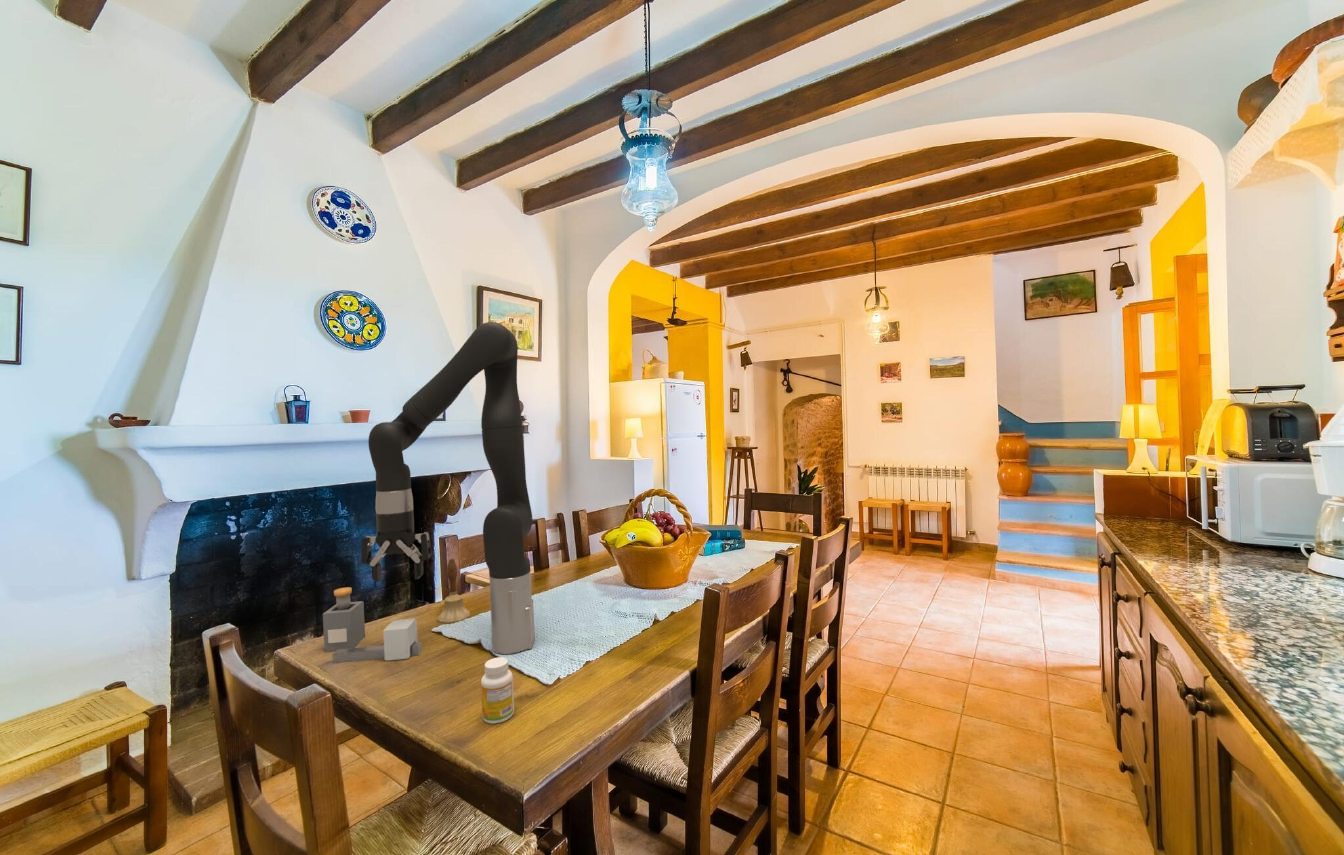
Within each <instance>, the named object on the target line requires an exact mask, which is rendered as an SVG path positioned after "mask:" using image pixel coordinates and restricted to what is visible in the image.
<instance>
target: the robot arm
mask: <svg viewBox="0 0 1344 855" xmlns="http://www.w3.org/2000/svg"><path fill="white" fill-rule="evenodd" d="M518 346H519V345H518V341H517V338H516V336H515V335H514V333H513V332H512V331H511V330H509V329H508V328H507V327H506V326H504V325H503V324H501V323H500V322H499V323H498V322H495V321H488V322H484V323H482V324H480V325H478V326H477V327H476V329H474V330H473V332H472V333H471V334H470V336H469V337H468V338H467V339H466V341H465V342H464V344H463V345H462V346H461V347H460V349H459V350H458V351H457V352H456V353H455V355H454V356H452V358H451V359H450V360H449V361H448V362H447V364H446V365H444V367H442V369H440V370H439V371H438V372H437V374H435V375H434V376H433V377H432V378H431V379H430V380H429V381H428V382H427V383H425V385H424V386H422V387H421V388H420V389H419V390H418V391H417V392H416V393H414V394H413V395H412V396H411V397H410V398H409V399H408V400H407V401H406V402H405V403H404V404H403V405H402V407H401V408H402V409H401V411H402V412H400V413H399V414H398V416H396V417H395V418H394V419H393V420H391V421H389V422H387V421H385V422H380V423H377V424H375V425H374V426H373V427H372V429H371V430H370V432H369V434H368V442H367V443H368V449H369V450H368V451H369V454H370V458H371V461H372V465H373V469H374V471H375V491H376V492H375V495H376V496H375V517H376V518H375V519H376V522H375V523H376V535H375V536H372V535H367V536H365V537H363V538H362V539H361V555H360V558H361V564H362V565H369V566H370V569H371V579H372V580H374V583H380V582H381V581H382V580H383V575H382V574H383V573H382V571H383V570H382V563H380V562H381V561H382V559H384V557H385V556H387V555H388V556H390V555H391V556H392V555H395V554H396V555H403V554H406V555H407V556H408V557H409V558H411V560H412V561H413V562H414V564H413V569H414V570H413V571H414V572H413V573H414V574H413V575H414V580H419V579H421V578H422V576H423V575H424V561H426V560H428V559H429V558H430V557H432V554H433V553H432V547H431V546H432V544H431V535H430V532H429V531H424V532H423V533H416V532H415V517H414V497H413V492H412V479H411V478H412V477H411V476H412V475H411V468H410V466H409V464H406V463H405V460H404V459H405V458H404V453H403V452H404V451H405V450H407V449H408V448H410V447H411V446H412V445H413V444H414V443H415V442H416V441H417V440H418V439H419V437H420V436H421V435H422V434H423V432H425V430H426V428H427V427H428V426H430V424H431V423H433V422H435V421H436V419H437V418H439V417H440V416H441V415H442V414H443V413H444V412H445V411H446V410H448V409H449V407H450V406H451V405H453V403H454V402H455V401H456V399H457V398H458V397H459V395H460V394H461V392H462V391H463V390H464V388H465V387H467V385H468V383H470V382H471V381H472V380H473V378H475V377H476V376H477V375H478V374H479V373H481V372H482V371H483V373H484V379H485V392H484V399H483V404H482V410H481V421H480V423H481V424H480V425H481V426H480V427H481V436H482V437H481V439H482V447H483V451H484V452H483V453H484V456H485V458H486V461H487V464H488V466H489V468H490V470H491V472H492V474H493V477H494V481H495V485H496V496H497V498H496V499H497V501H496V503H497V505H496V506H497V507H496V508H493V509H492V510H490V511H489V512H488V513H487V514H486V516H485V518H484V522H483V526H482V537H483V549H484V550H483V552H484V559H485V561H484V562H485V564H486V567H487V568H488V574H489V576H488V577H489V596H490V598H489V600H490V620H491V622H490V623H491V624H490V625H491V644H492V645H491V646H492V648H491V649H492V651H493V652H495V653H497V654H501V655H502V654H503V655H510V654H516V653H520V651H521V652H522V651H526V650H532V649H533V645H534V641H535V638H536V636H535V635H536V634H535V633H536V632H535V613H534V612H535V610H534V600H533V599H532V597H533V596H532V575H531V560H530V558H528V556H526V555H525V545H524V538H526V536H527V535H528V534H529V532H530V531H531V529H532V526H533V511H532V507H531V502H530V497H529V492H528V484H527V476H526V474H527V473H526V457H525V438H524V427H523V426H524V424H523V419H522V417H523V416H522V410H521V404H520V403H521V402H520V397H519V396H520V394H519V390H518V354H519V352H518V350H519V349H518V348H519V347H518ZM416 540H417V542H418V543H419V544H421V552H420V550H419V548H418V547H417V546H416V545H415V544H414V543H415V541H416ZM375 543H376V544H377V545H378V547H379V549H378V550H377V552H376V554H374V557H373V546H374V545H375ZM531 648H532V649H531Z"/></svg>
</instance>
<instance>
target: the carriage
mask: <svg viewBox="0 0 1344 855" xmlns="http://www.w3.org/2000/svg"><path fill="white" fill-rule="evenodd" d="M417 627H418V625H417V618H416V617H415V618H405V619H404V618H403V619H401V618H400V619H394V620H393V621H391V622H390V623H389V624H388V625H387V626H386V627H385V628H384V630H382V631H383V632H382V633H383V645H384V655H385V658H384V661H395V660H397V661H398V660H406V659H409V658H410V657H411V656H410V646H411V645H412V644H413V643H414V642H418V628H417Z"/></svg>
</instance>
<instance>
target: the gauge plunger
mask: <svg viewBox="0 0 1344 855" xmlns="http://www.w3.org/2000/svg"><path fill="white" fill-rule="evenodd" d="M352 592H353V590H352V587H351V586H350V587H349V586H347V587H340V588H337V589H334V590H333V595H334V597H336V599H335V600H336V604H337V611H338V610H349V609H350V608H351V606H350V602H351V594H352Z"/></svg>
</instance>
